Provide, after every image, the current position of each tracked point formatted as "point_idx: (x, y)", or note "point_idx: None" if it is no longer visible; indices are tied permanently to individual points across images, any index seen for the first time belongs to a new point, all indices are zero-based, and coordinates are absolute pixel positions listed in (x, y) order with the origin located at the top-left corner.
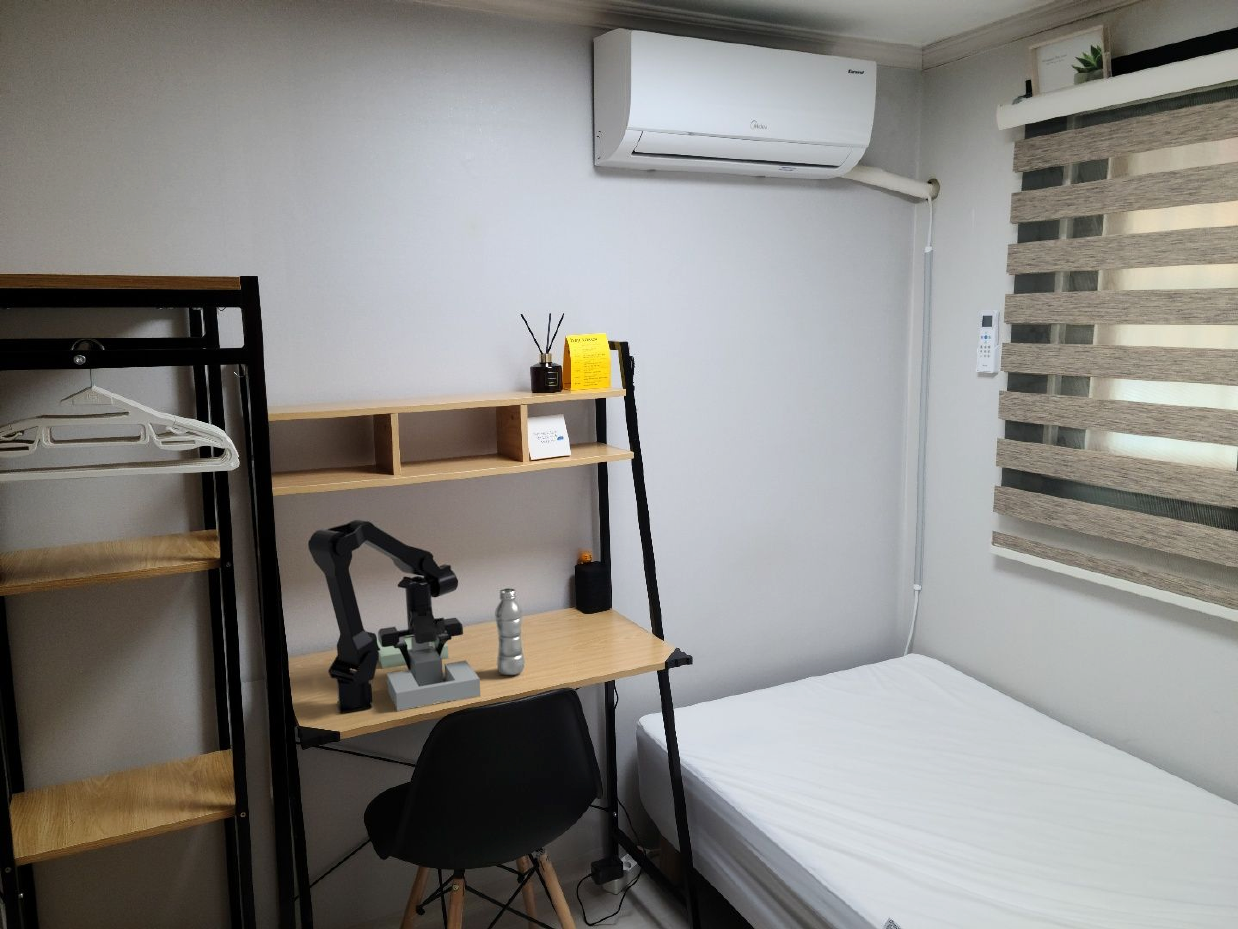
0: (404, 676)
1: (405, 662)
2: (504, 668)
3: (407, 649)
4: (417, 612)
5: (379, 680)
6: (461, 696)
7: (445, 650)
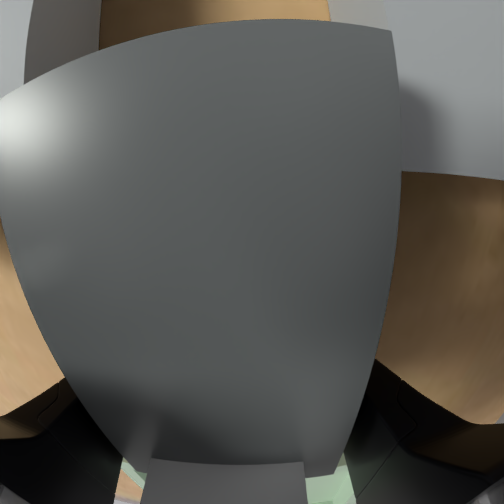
0: (449, 27)
1: None
2: None
3: (409, 454)
4: None
5: (442, 318)
6: None
7: None
